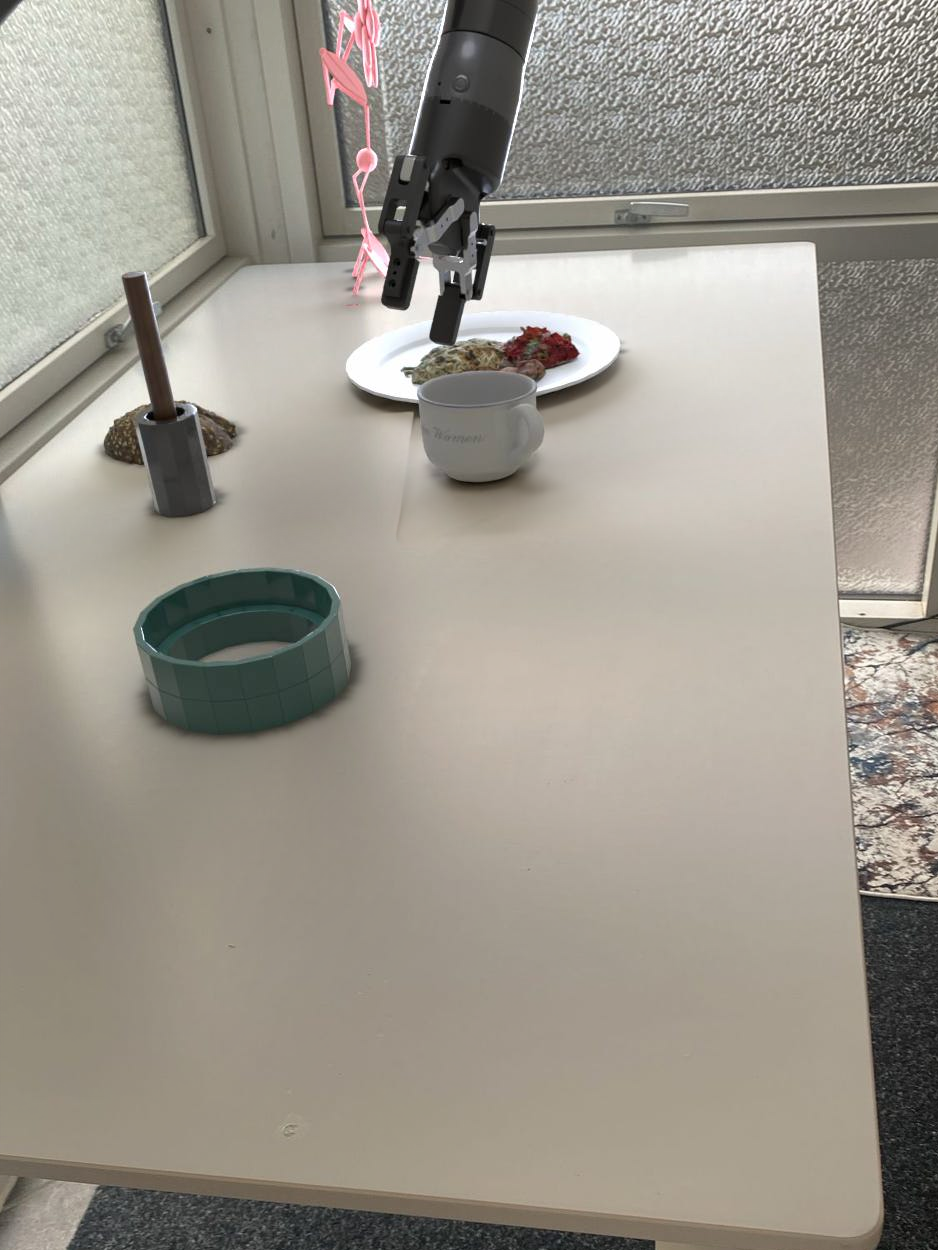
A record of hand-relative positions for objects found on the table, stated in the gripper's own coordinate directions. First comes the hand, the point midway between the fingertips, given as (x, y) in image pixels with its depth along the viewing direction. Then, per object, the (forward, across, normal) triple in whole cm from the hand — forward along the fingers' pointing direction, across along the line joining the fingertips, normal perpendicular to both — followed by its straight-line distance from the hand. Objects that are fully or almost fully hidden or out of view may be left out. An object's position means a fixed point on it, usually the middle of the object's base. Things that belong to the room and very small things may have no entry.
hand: (418, 326), depth 106 cm
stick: (+17, -6, -23) cm, 29 cm away
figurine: (-22, -65, -41) cm, 80 cm away
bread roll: (+11, -17, -34) cm, 39 cm away
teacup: (+8, -18, +1) cm, 20 cm away
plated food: (-7, -40, -14) cm, 43 cm away
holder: (+18, -6, -23) cm, 29 cm away
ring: (+30, +15, +2) cm, 34 cm away
